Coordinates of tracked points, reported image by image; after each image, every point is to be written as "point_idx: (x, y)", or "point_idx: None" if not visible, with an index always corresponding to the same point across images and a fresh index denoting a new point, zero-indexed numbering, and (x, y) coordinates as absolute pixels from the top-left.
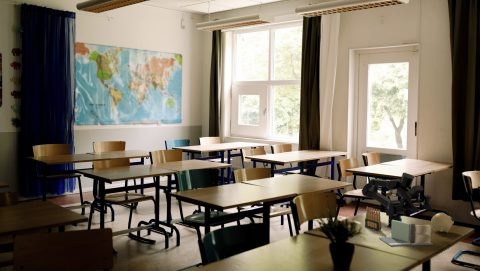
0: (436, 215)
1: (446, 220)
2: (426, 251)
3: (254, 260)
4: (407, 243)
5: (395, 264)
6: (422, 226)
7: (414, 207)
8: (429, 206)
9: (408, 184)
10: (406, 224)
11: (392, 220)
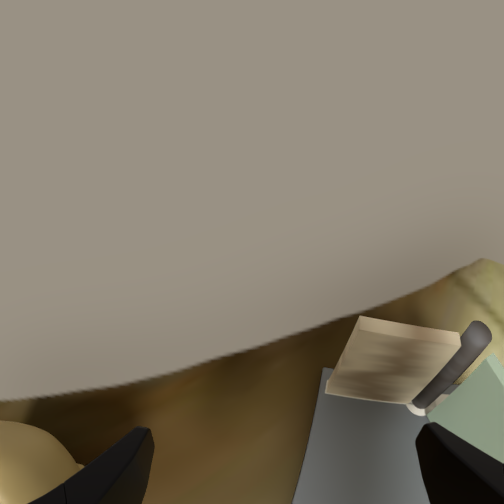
0: (16, 494)
1: (14, 430)
2: (402, 313)
3: None
4: (443, 397)
5: (500, 270)
6: (417, 330)
7: (485, 456)
8: (122, 480)
9: None
10: (499, 369)
11: None
